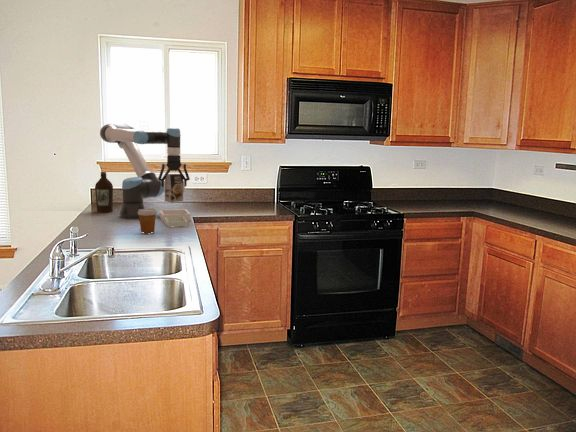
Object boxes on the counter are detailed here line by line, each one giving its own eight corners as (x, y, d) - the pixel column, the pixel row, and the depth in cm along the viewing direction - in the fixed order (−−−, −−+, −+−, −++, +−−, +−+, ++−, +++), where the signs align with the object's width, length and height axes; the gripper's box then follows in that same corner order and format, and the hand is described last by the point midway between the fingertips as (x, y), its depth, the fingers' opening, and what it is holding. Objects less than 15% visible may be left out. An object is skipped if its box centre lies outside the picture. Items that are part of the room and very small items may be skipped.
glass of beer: (150, 230, 262) (149, 207, 260) (161, 233, 256) (160, 210, 254) (134, 232, 254) (133, 209, 252) (145, 235, 249) (144, 212, 246)
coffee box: (171, 202, 290) (171, 175, 287) (164, 201, 293) (164, 174, 291) (183, 201, 297) (183, 174, 294) (176, 199, 301) (176, 173, 298)
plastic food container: (162, 221, 286) (162, 214, 285) (159, 216, 302) (159, 210, 301) (190, 220, 292) (190, 213, 291) (185, 215, 307) (185, 209, 307)
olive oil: (98, 210, 319) (96, 171, 315) (115, 210, 320) (113, 171, 316) (94, 212, 309) (92, 172, 304) (111, 212, 310) (110, 172, 306)
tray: (167, 227, 270) (167, 222, 269) (164, 222, 283) (164, 217, 282) (188, 226, 274) (187, 221, 273) (184, 222, 286) (183, 216, 286)
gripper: (154, 154, 283) (154, 193, 287) (194, 155, 291) (194, 192, 295) (152, 154, 290) (153, 191, 294) (192, 154, 298) (192, 191, 302)
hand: (174, 192), depth 294 cm, fingers closed on coffee box, 11 cm apart
